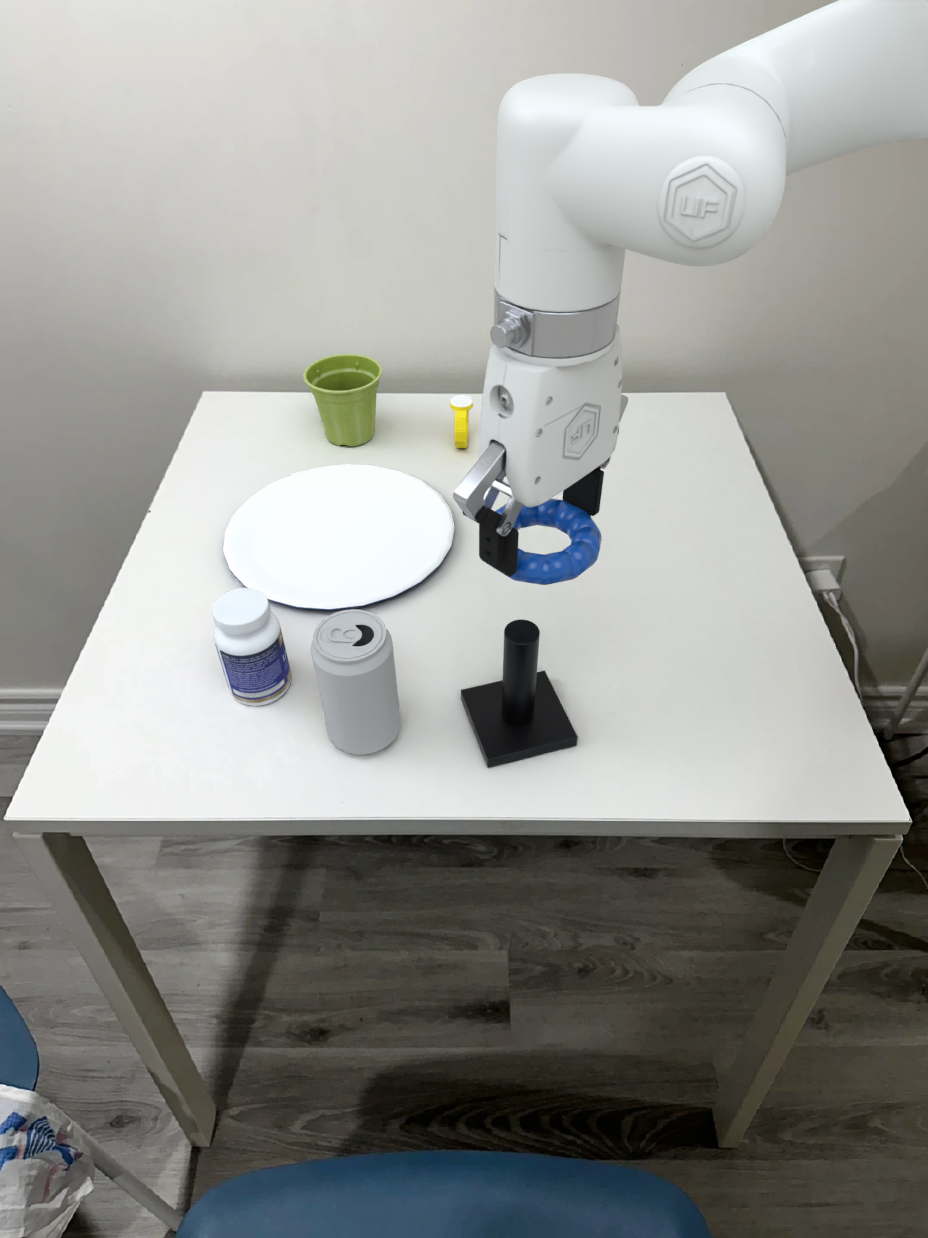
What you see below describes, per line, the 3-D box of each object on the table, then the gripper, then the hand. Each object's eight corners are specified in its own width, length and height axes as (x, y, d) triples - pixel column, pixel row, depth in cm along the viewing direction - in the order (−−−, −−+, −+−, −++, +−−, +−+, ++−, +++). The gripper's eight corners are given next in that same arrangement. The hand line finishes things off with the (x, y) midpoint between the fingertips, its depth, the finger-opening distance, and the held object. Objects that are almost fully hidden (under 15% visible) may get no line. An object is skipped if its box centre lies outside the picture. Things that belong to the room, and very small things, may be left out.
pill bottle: (304, 685, 78) (288, 606, 71) (251, 718, 75) (228, 640, 68) (269, 652, 81) (250, 573, 74) (217, 683, 78) (191, 604, 71)
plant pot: (299, 432, 108) (288, 369, 102) (360, 407, 112) (354, 345, 106) (339, 464, 103) (330, 400, 97) (402, 437, 107) (397, 374, 101)
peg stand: (544, 678, 78) (551, 588, 70) (577, 745, 72) (589, 656, 65) (460, 698, 76) (458, 608, 69) (487, 768, 71) (488, 679, 63)
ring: (573, 506, 69) (575, 483, 67) (617, 576, 63) (621, 553, 61) (466, 526, 67) (466, 503, 66) (501, 600, 61) (502, 577, 59)
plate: (183, 594, 87) (180, 585, 86) (278, 459, 104) (276, 450, 103) (419, 634, 82) (418, 625, 81) (477, 486, 100) (477, 477, 99)
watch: (452, 429, 108) (451, 387, 104) (474, 429, 108) (474, 387, 104) (449, 455, 104) (448, 412, 100) (472, 456, 104) (471, 413, 100)
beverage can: (398, 760, 72) (388, 664, 63) (322, 759, 72) (302, 663, 63) (404, 702, 76) (394, 605, 68) (332, 701, 76) (314, 604, 68)
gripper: (506, 389, 46) (500, 618, 58) (686, 289, 54) (648, 505, 66) (410, 345, 49) (423, 568, 61) (593, 258, 58) (573, 468, 70)
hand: (540, 535), depth 64 cm, fingers closed on ring, 9 cm apart
